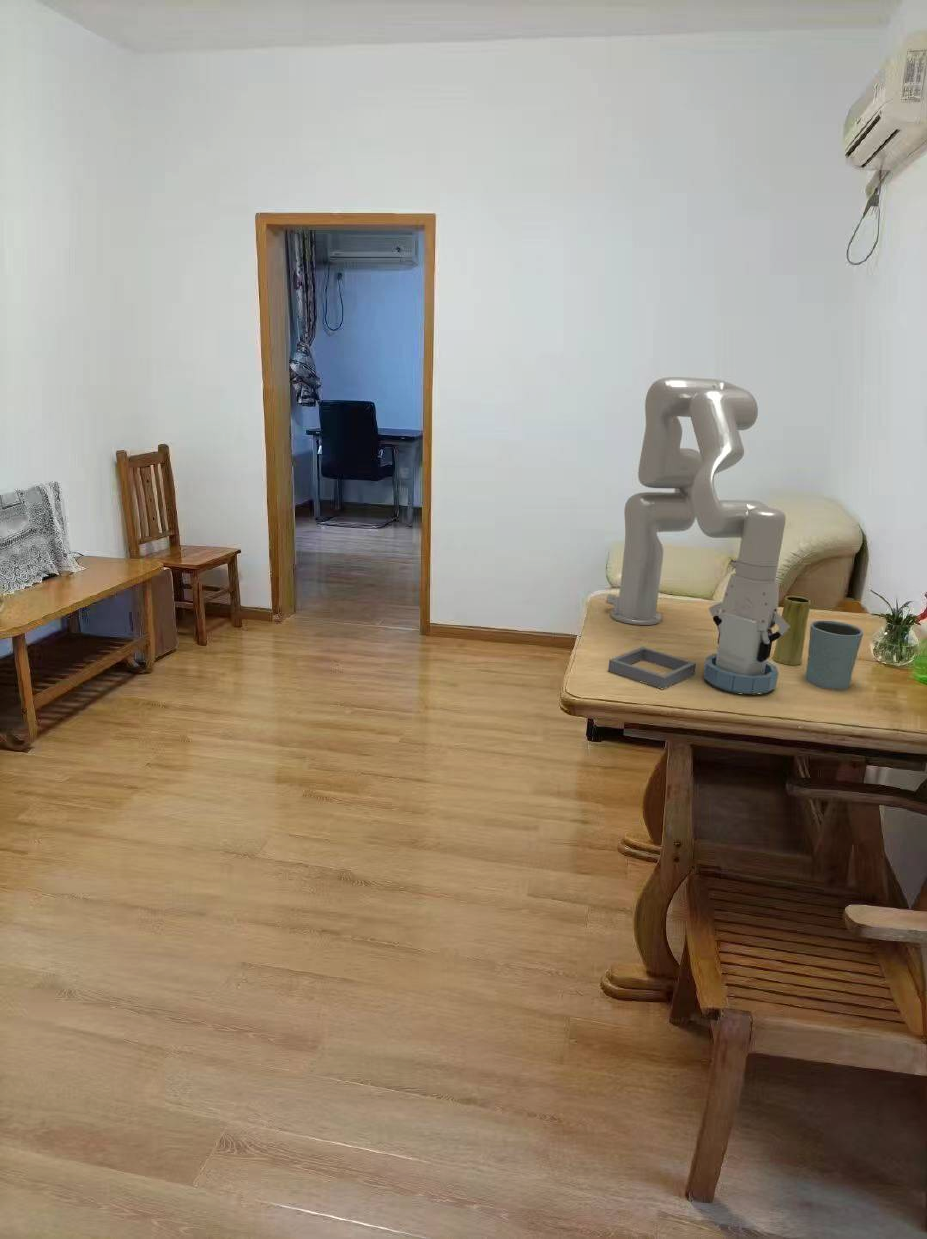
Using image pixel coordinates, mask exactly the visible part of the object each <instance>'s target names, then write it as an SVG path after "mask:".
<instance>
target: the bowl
mask: <svg viewBox="0 0 927 1239" xmlns="http://www.w3.org/2000/svg"><path fill="white" fill-rule="evenodd" d="M716 657H717V653H712V654H710V655H708V656H706V657H705V659H704V665H703V678H704V680H706V681H707V682H708V683H709V685H712V687H713V688H716V687H717V689H718V688H719V690H722V691H724V692H727V693H731V694H736V693H742V694H758V693H764V694H766V693H765V692H767V693H769V692H771V691H773V690H774V689H775V688H776V687H777V682H778V677H779V676H778V675H779V670H778V667H777V666H776V665H775V664H773V663H771V662H769V661H768V660H767V661H766V666H765V673H764V675H757V676H749V675H741V674H735V673H731V672H728V671H725V670H721V669H720V668H718V667H716V666H715V664H716ZM742 694H741V695H742Z"/></svg>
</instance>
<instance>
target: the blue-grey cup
mask: <svg viewBox="0 0 927 1239" xmlns="http://www.w3.org/2000/svg"><path fill="white" fill-rule="evenodd" d="M863 636H864V631H863V629H861V628H860V627H858V626H856V625H853V624H850V623H847V622H846V623H845V622H840V621H835V620H834V621H833V620H816V621H813V622H811V623H810V628H809V642H808V650H807V651H808V652H807V654H808V656H807V662H806V663H807V664H806V672H805V680H806V681H807V683H809V684H810V685H813V686H816V687H818V688H821V689H827V690H835V691H836V690H837V691H841V690H846V689H848V688H849V687H850V684H851V681H852V675H853V671H854V668H855V665H856V661H857V660H856V659H857V657H858V652H859V649H860V646H861V643H862V639H863Z"/></svg>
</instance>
